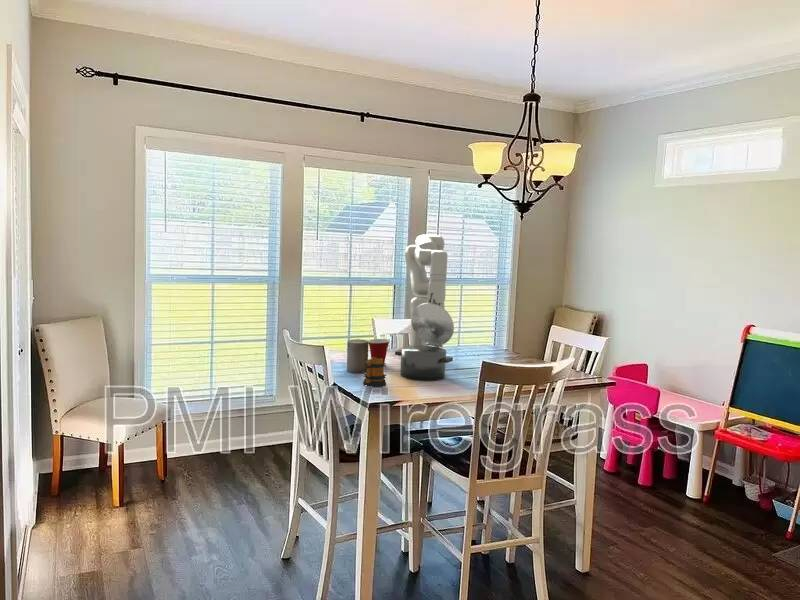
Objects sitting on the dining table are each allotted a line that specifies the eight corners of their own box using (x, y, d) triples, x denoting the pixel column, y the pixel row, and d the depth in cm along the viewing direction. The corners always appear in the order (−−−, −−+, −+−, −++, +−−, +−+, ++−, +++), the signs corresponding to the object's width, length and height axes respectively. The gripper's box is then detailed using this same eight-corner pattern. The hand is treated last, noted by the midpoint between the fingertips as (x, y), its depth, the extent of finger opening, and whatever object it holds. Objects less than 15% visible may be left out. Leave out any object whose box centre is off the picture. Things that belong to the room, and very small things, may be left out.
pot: (386, 375, 279) (387, 348, 278) (407, 367, 296) (409, 342, 295) (438, 384, 266) (440, 356, 265) (458, 376, 284) (459, 350, 282)
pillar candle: (370, 369, 288) (371, 337, 287) (363, 373, 279) (364, 340, 278) (351, 367, 291) (352, 335, 290) (342, 371, 282) (343, 338, 281)
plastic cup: (369, 361, 307) (370, 337, 306) (390, 363, 305) (392, 338, 304) (363, 365, 297) (364, 340, 295) (386, 367, 295) (387, 342, 293)
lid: (408, 301, 285) (411, 299, 288) (414, 343, 294) (416, 340, 296) (450, 306, 275) (453, 303, 277) (454, 349, 284) (457, 346, 286)
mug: (369, 380, 268) (370, 353, 267) (390, 383, 264) (392, 356, 263) (354, 386, 256) (355, 358, 255) (377, 390, 252) (378, 362, 251)
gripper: (437, 277, 294) (435, 315, 296) (423, 278, 281) (421, 318, 283) (452, 278, 290) (450, 317, 292) (438, 279, 277) (436, 320, 279)
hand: (435, 317), depth 287 cm, fingers closed
